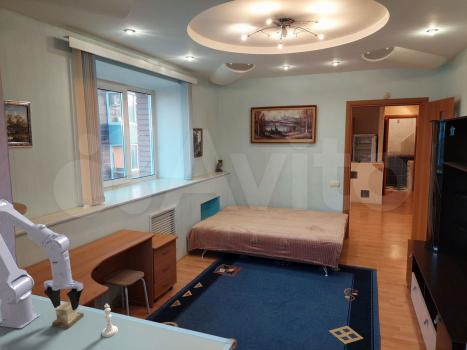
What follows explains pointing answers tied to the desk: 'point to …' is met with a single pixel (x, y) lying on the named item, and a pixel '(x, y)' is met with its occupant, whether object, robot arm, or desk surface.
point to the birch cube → (65, 312)
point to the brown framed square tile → (68, 324)
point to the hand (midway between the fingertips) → (66, 307)
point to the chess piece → (109, 324)
